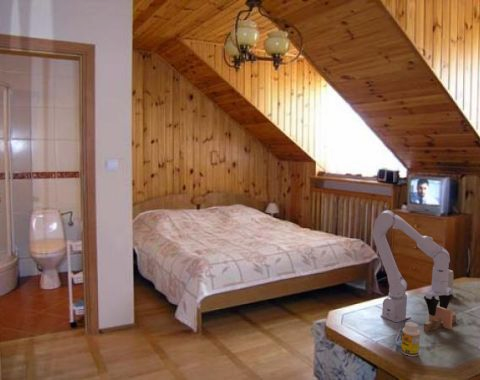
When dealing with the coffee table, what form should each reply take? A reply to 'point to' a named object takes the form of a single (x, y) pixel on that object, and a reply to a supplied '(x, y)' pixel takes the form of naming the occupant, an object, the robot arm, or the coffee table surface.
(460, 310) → the coffee table surface
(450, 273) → the beverage can
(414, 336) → the supplement bottle
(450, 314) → the tan flat plank
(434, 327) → the walnut board
